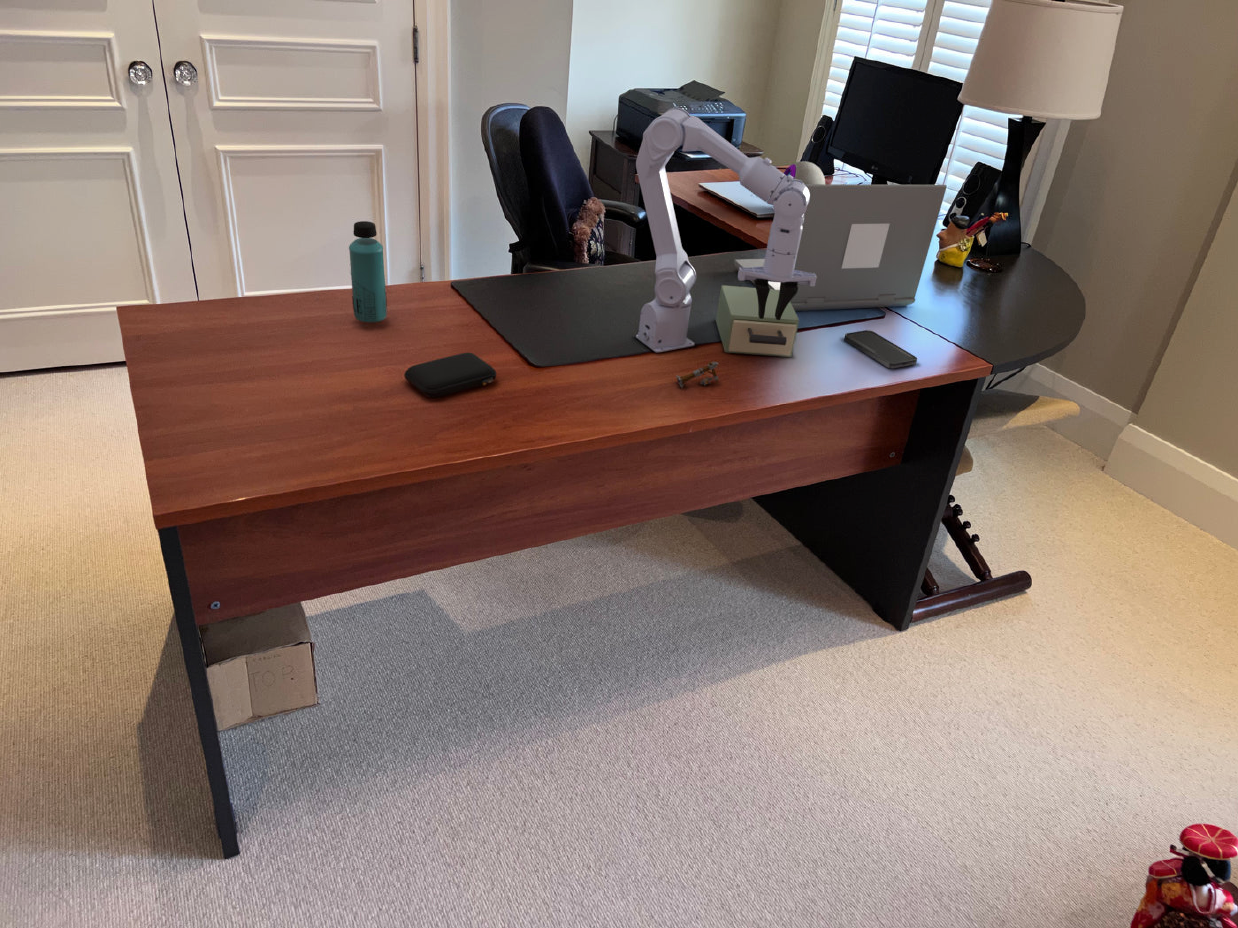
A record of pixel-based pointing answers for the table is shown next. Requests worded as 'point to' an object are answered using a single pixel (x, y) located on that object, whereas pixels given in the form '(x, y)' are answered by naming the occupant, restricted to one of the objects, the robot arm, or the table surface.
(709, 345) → the table surface
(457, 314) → the table surface
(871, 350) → the phone
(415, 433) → the table surface
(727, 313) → the cabinet
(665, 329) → the robot arm
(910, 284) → the laptop
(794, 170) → the webcam
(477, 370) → the carrying case
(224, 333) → the table surface
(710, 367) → the wooden post with brackets
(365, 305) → the beverage bottle
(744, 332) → the drawer
